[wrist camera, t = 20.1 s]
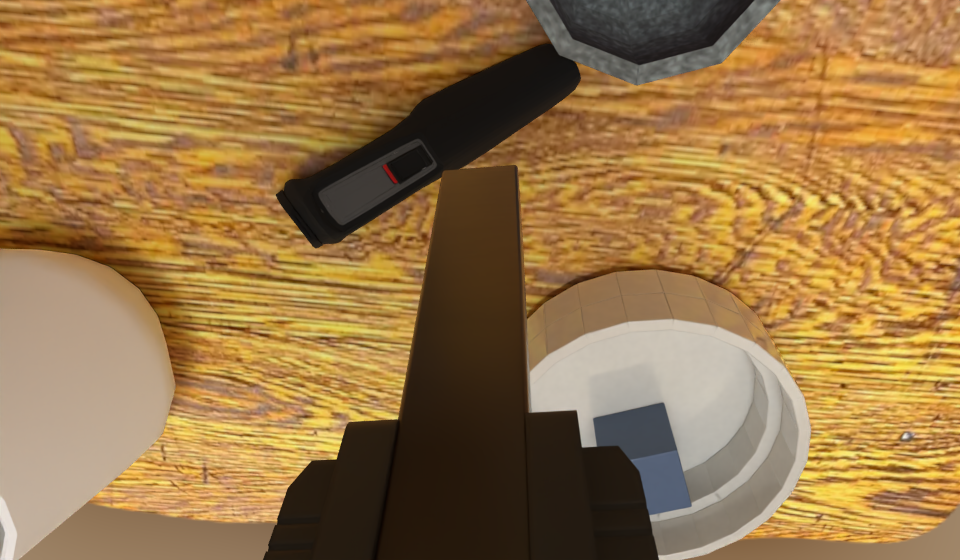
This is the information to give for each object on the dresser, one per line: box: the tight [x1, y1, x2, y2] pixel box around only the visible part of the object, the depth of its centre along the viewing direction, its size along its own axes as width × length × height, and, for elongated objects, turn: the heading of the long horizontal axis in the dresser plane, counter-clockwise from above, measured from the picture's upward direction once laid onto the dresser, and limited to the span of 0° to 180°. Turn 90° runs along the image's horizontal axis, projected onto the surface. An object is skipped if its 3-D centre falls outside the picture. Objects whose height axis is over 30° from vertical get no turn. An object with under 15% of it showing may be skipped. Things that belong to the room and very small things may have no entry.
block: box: [593, 403, 692, 515], centre depth 42 cm, size 4×4×4 cm
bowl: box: [527, 269, 811, 560], centre depth 40 cm, size 15×15×6 cm
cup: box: [0, 249, 176, 560], centre depth 36 cm, size 13×13×14 cm
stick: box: [375, 165, 532, 560], centre depth 13 cm, size 2×2×14 cm
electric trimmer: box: [276, 44, 581, 248], centre depth 35 cm, size 4×16×3 cm, turn 121°
